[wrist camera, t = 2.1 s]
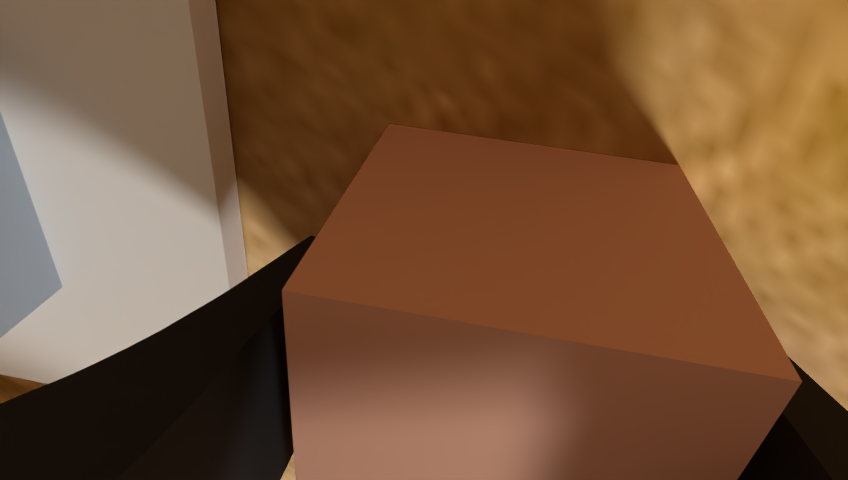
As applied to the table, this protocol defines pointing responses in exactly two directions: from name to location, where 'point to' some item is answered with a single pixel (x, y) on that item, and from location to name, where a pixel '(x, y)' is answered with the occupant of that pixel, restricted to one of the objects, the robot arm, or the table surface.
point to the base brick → (20, 245)
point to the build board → (119, 171)
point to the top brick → (524, 323)
